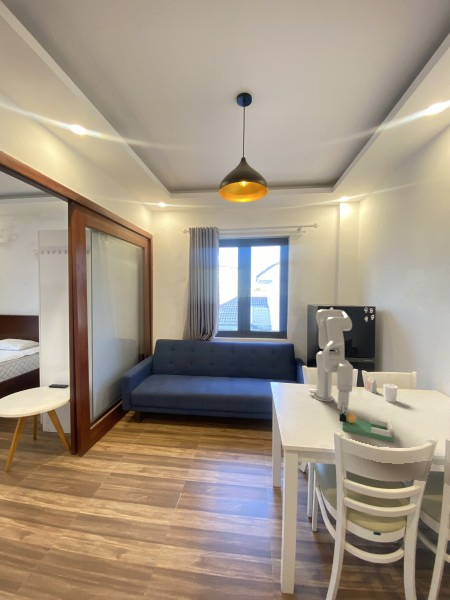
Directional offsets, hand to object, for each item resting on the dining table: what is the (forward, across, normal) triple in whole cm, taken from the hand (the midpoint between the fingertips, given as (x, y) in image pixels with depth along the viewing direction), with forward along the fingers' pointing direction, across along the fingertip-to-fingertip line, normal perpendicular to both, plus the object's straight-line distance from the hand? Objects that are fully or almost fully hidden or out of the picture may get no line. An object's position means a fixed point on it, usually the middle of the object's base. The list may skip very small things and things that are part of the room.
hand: (342, 419), depth 133 cm
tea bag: (+3, -61, +17) cm, 64 cm away
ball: (-2, 0, +4) cm, 4 cm away
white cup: (+3, -49, +28) cm, 57 cm away
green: (+3, 0, +11) cm, 11 cm away
